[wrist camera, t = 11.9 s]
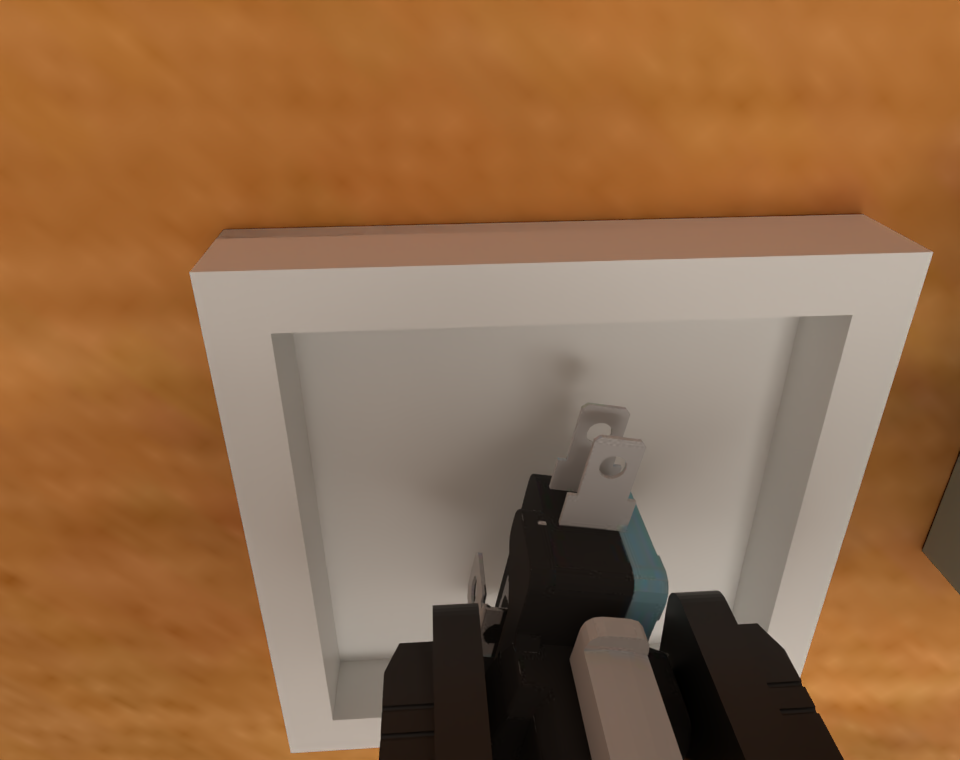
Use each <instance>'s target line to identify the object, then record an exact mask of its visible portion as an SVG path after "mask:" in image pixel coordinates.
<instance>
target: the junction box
mask: <svg viewBox="0 0 960 760" xmlns="http://www.w3.org/2000/svg"><path fill="white" fill-rule="evenodd" d="M922 552H923V553H924V554H925V555H926V556H927V557H928V558H929V560H930V561H931V562H932V563H933V564H934V565H935V567H936V568H937V569H938V570H939V571H940V572H941V573H942V575H943V576H944V577H945V578H946V579H947V580H948V582H949V583H950V584H951V585H952V586H953V587H954V588H955V590H956V591H957V592H958V593H959V594H960V455H959V457H958V460H957V462H956V465H955V468H954V470H953V473H952V475H951V478H950V481H949V483H948V486H947V488H946V491H945V493H944V496H943V499H942V501H941V504H940V506H939V509H938V512H937V514H936V517H935V519H934V522H933V525H932V527H931V530H930V532H929V535H928V537H927V540H926V543H925V545H924V548H923V550H922Z"/></svg>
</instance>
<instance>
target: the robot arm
mask: <svg viewBox="0 0 960 760" xmlns="http://www.w3.org/2000/svg"><path fill="white" fill-rule="evenodd" d="M659 651H662V652H665V653H668V654H669V656H668V659H669V662H670V665H671V667H672V670H673V673H674V675H675V678H676V681H677V683H678V686H679V689H680V691H681V694H682V697H683V699H684V702H685V705H686V707H687V710H688V713H689V717H690V720H691V726H692V733H691V740H690V745H689V750H688V752H687V754H686V757H685V759H684V760H844V759H843V757H842V755H841V753H840V752H839V750H838V748H837V746H836V744H835V742H834V740H833V739H832V737H831V735H830V733H829V731H828V729H827V727H826V725H825V724H824V722H823V720H822V718H821V716H820V714H819V713H816V710H815V705H814V703H813V701H812V699H811V698H810V696H809V694H808V692H807V690H806V688H805V687H803V686H802V684H801V679H800V677H799V675H798V673H797V671H796V670H795V668H794V666H793V664H792V662H791V660H790V658H789V657H788V655H787V653H786V651H785V649H784V648H783V647H782V646H781V645H780V644H778V643H777V642H776V641H775V640H774V639H773V638H772V637H771V636H770V635H769V634H768V633H767V632H766V631H765V630H764V629H763V628H762V627H761V626H760V625H759V624H758V623H752V624H738V623H737V621H736V619H735V617H734V615H733V613H732V611H731V609H730V607H729V605H728V603H727V601H726V599H725V597H724V596H723V594H722V593H721V592H720V591H718V590H713V591H695V592H676V593H671V594H670V595H669V598H668V601H667V607H666V613H665V619H664V625H663V631H662V637H661V643H660V649H659ZM379 760H492V750H491V739H490V727H489V716H488V705H487V694H486V682H485V671H484V660H483V648H482V637H481V626H480V615H479V605H478V603H466V604H448V605H433V641H429V642H412V643H399V645H398V647H397V649H396V651H395V652H394V654H393V656H392V658H391V660H390V662H389V664H388V666H387V668H386V670H385V672H384V680H383V698H382V716H381V741H380V751H379Z"/></svg>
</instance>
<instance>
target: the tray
mask: <svg viewBox="0 0 960 760" xmlns="http://www.w3.org/2000/svg"><path fill="white" fill-rule="evenodd" d="M932 255H933V252H932V251H930V250H929V249H927V248H925V247H923V246H921V245H919V244H918V243H916V242H914V241H912V240H910V239H908V238H906V237H905V236H903V235H901V234H899V233H897V232H895V231H893V230H892V229H890V228H888V227H886V226H884V225H882V224H881V223H879V222H877V221H875V220H873V219H871V218H869V217H868V216H866V215H864V214H849V215H808V216H766V217H725V218H683V219H642V220H600V221H559V222H517V223H476V224H434V225H393V226H351V227H310V228H268V229H227V230H223V231H222V232H221V233H220V235H219V236H218V237H217V238H216V240H215V241H214V242H213V243H212V245H211V246H210V247H209V248H208V250H207V251H206V252H205V253H204V255H203V256H202V257H201V258H200V260H199V261H198V262H197V263H196V265H195V266H194V267H193V268H192V270H191V271H190V272H189V273H190V278H191V283H192V287H193V292H194V297H195V301H196V306H197V311H198V316H199V320H200V325H201V330H202V335H203V339H204V344H205V349H206V353H207V358H208V363H209V368H210V372H211V377H212V382H213V387H214V391H215V396H216V401H217V405H218V410H219V415H220V420H221V424H222V429H223V434H224V439H225V443H226V448H227V453H228V458H229V462H230V467H231V472H232V476H233V481H234V486H235V491H236V495H237V500H238V505H239V510H240V514H241V519H242V524H243V528H244V533H245V538H246V543H247V547H248V552H249V557H250V562H251V566H252V571H253V576H254V580H255V585H256V590H257V595H258V599H259V604H260V609H261V614H262V618H263V623H264V628H265V632H266V637H267V642H268V647H269V651H270V656H271V661H272V666H273V670H274V675H275V680H276V684H277V689H278V694H279V699H280V703H281V708H282V713H283V718H284V722H285V727H286V732H287V736H288V741H289V746H290V751H291V753H301V752H317V751H333V750H348V749H364V748H380V741H381V716H382V698H383V680H384V672H385V670H386V668H387V666H388V664H389V662H390V660H391V658H392V656H393V654H394V652H395V651H396V649H397V647H398V645H399V643H412V642H429V641H433V605H448V604H466V603H468V599H467V594H468V583H469V579H470V575H471V570H472V566H473V562H474V558H475V554H476V553H482V556H483V565H484V574H485V583H486V592H487V596H486V600H485V604H488V605H490V606H491V607H495V604H496V600H497V597H498V593H499V589H500V585H501V582H502V578H503V574H504V571H505V567H506V563H507V559H508V556H509V540H510V532H511V527H512V523H513V519H514V516H515V513H516V511H517V510H518V509H521V507H522V504H523V500H524V496H525V492H526V489H527V485H528V481H529V478H530V476H531V474H541V475H550V476H552V474H553V471H554V467H555V464H556V460H557V457H558V458H567V454H568V451H569V447H570V444H571V441H572V437H573V434H574V430H575V427H576V423H577V420H578V417H579V413H580V410H581V406H583V405H585V404H586V403H596V404H604V405H612V406H620V407H626V409H627V410H628V411H629V413H630V417H629V420H628V423H627V426H626V429H625V432H624V435H623V437H626V438H635V439H641V440H642V441H643V443H644V444H645V446H646V449H645V452H644V455H643V458H642V461H641V464H640V466H639V469H638V472H637V475H636V478H635V480H634V483H633V486H632V489H631V493H632V495H633V498H634V499H635V500H636V505H637V507H638V510H639V512H640V515H641V517H642V519H643V522H644V524H645V527H646V529H647V531H648V534H649V536H650V539H651V541H652V544H653V546H654V548H655V551H656V553H657V555H659V556H660V558H661V560H662V563H663V565H664V568H665V570H666V573H667V577H668V598H669V595H670V594H671V593H676V592H695V591H713V590H718V591H720V592H721V593H722V594H723V596H724V597H725V599H726V601H727V603H728V605H729V607H730V609H731V611H732V613H733V615H734V617H735V619H736V621H737V623H738V624H752V623H758V624H759V625H760V626H761V627H762V628H763V629H764V630H765V631H766V632H767V633H768V634H769V635H770V636H771V637H772V638H773V639H774V640H775V641H776V642H777V643H778V644H780V645H781V646H782V647H783V648H784V649H785V651H786V653H787V655H788V657H789V658H790V660H791V662H792V664H793V666H794V668H795V670H796V671H797V673H798V675H799V677H800V676H801V673H802V670H803V667H804V663H805V660H806V657H807V654H808V651H809V647H810V644H811V641H812V638H813V635H814V631H815V628H816V625H817V622H818V619H819V616H820V612H821V609H822V606H823V603H824V600H825V596H826V593H827V590H828V587H829V584H830V580H831V577H832V574H833V571H834V568H835V564H836V561H837V558H838V555H839V552H840V548H841V545H842V542H843V539H844V536H845V532H846V529H847V526H848V523H849V520H850V516H851V513H852V510H853V507H854V504H855V501H856V497H857V494H858V491H859V488H860V485H861V481H862V478H863V475H864V472H865V469H866V465H867V462H868V459H869V456H870V453H871V449H872V446H873V443H874V440H875V437H876V433H877V430H878V427H879V424H880V421H881V417H882V414H883V411H884V408H885V405H886V402H887V398H888V395H889V392H890V389H891V386H892V382H893V379H894V376H895V373H896V370H897V366H898V363H899V360H900V357H901V354H902V350H903V347H904V344H905V341H906V338H907V334H908V331H909V328H910V325H911V322H912V318H913V315H914V312H915V309H916V306H917V302H918V299H919V296H920V293H921V290H922V287H923V283H924V280H925V277H926V274H927V271H928V267H929V264H930V261H931V258H932ZM610 434H611V427H610V426H609V425H607V424H605V423H598V424H594V425H593V426H591V427H590V428H589V430H588V432H587V438H588V439H589V440H591V441H593V440H594V438H596V437H597V436H599V435H610ZM614 464H619V465H621V467H622V468H621V471H622V470H623V469H624V467H625V460H624V459H623V458H621V457H618V456H616V459H615V462H614ZM621 471H620V472H621ZM476 588H477V583H476ZM475 597H476V592H475ZM668 598H667V601H668ZM666 607H667V602H666V605H665V608H664V610H663V612H662V615H661V617H660V620H659V621H657V622H656V624H655V626H654V629H653V631H652V633H651V636H650V638H649V641H648V643H649V647H650V648H653V649H656V650H659V649H660V643H661V637H662V631H663V625H664V619H665V613H666Z"/></svg>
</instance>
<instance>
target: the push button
mask: <svg viewBox="0 0 960 760" xmlns="http://www.w3.org/2000/svg"><path fill="white" fill-rule="evenodd" d="M629 417H630V413H629V411H628V410H627V409H626V407H620V406H612V405H604V404H596V403H586V404H585V405H583V406H581V410H580V413H579V417H578V420H577V423H576V427H575V430H574V434H573V437H572V441H571V444H570V447H569V451H568V454H567V458H558V457H557V460H556V464H555V467H554V471H553V474H552V476H550V475H541V474H531V476H530V478H529V481H528V485H527V489H526V492H525V496H524V500H523V504H522V507H521V509H518V510H517V511H516V513H515V516H514V519H513V523H512V527H511V532H510V540H509V556H508V559H507V563H506V567H505V571H504V574H503V578H502V582H501V585H500V589H499V593H498V597H497V600H496V604H495V607H491V606H490V605H488V604H485V600H486V596H487V592H486V583H485V574H484V565H483V556H482V553H476V554H475V558H474V562H473V566H472V570H471V575H470V579H469V583H468V594H467V599H468V603H478V605H479V615H480V626H481V637H482V648H483V660H484V671H485V682H486V694H487V705H488V716H489V727H490V739H491V750H492V760H684V759H685V757H686V754H687V752H688V750H689V745H690V740H691V733H692V726H691V720H690V717H689V713H688V710H687V707H686V705H685V702H684V699H683V697H682V694H681V691H680V689H679V686H678V683H677V681H676V678H675V675H674V673H673V670H672V667H671V665H670V662H669V659H668V656H669V654H668V653H665V652H662V651H659V650H656V649H653V648H650V647H649V643H648V641H649V638H650V636H651V633H652V631H653V629H654V626H655V624H656V622H657V621H659V620H660V617H661V615H662V612H663V610H664V608H665V605H666V602H667V598H668V577H667V573H666V570H665V568H664V565H663V563H662V560H661V558H660V556H659V555H657V553H656V551H655V548H654V546H653V544H652V541H651V539H650V536H649V534H648V531H647V529H646V527H645V524H644V522H643V519H642V517H641V515H640V512H639V510H638V507H637V505H636V500H635V499H634V498H633V495H632V493H631V489H632V486H633V483H634V480H635V478H636V475H637V472H638V469H639V466H640V464H641V461H642V458H643V455H644V452H645V449H646V446H645V444H644V443H643V441H642V440H641V439H635V438H626V437H623V435H624V432H625V429H626V426H627V423H628V420H629ZM598 423H605V424H607V425H609V426H610V427H611V434H610V435H599V436H597V437H596V438H594V440H593V441H591V440H589V439H588V438H587V432H588V430H589V428H590V427H591V426H593V425H594V424H598ZM616 456H618V457H621V458H623V459H624V460H625V467H624V469H623V470H622V471H621V468H622V467H621V465H619V464H614V462H615V459H616ZM620 471H621V472H620ZM476 583H477V588H476ZM475 592H476V597H475Z"/></svg>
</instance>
